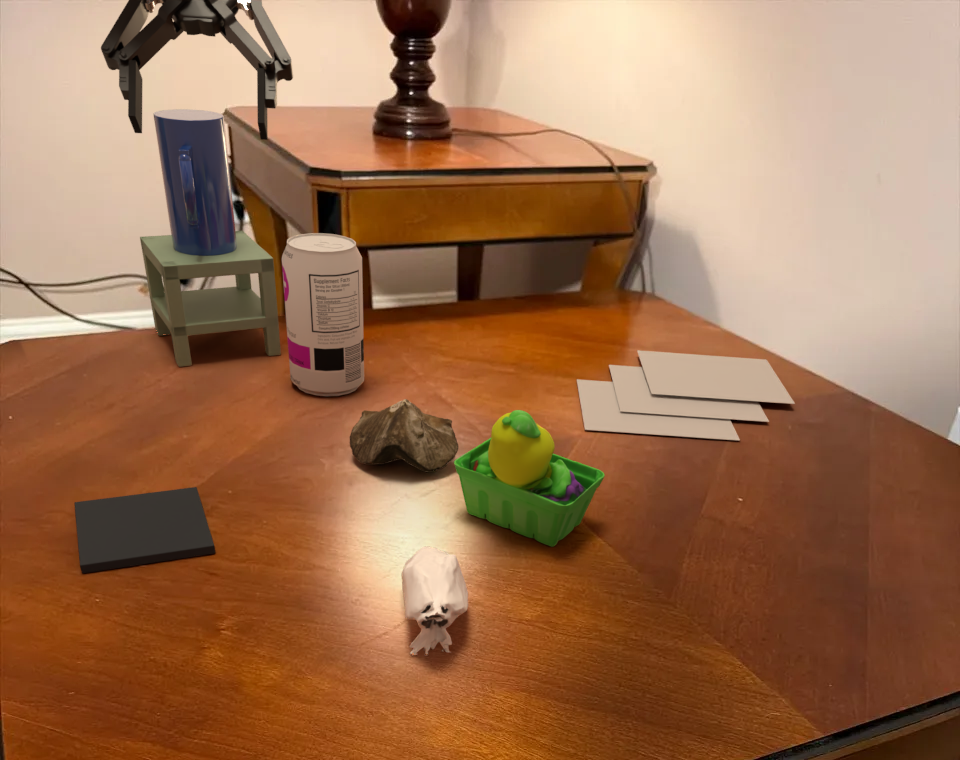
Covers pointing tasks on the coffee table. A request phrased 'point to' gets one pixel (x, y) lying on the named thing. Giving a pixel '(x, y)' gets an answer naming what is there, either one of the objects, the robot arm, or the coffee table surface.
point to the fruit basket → (526, 481)
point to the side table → (210, 293)
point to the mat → (141, 529)
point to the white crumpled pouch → (433, 596)
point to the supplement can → (324, 313)
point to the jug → (196, 181)
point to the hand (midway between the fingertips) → (199, 128)
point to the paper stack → (681, 395)
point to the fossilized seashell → (404, 437)
